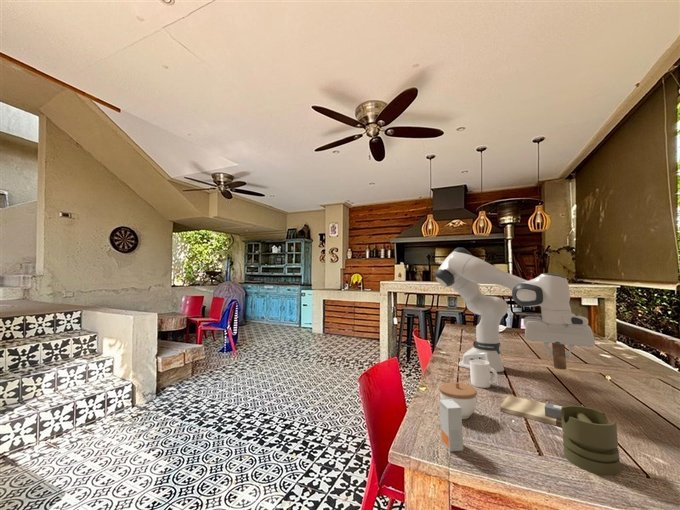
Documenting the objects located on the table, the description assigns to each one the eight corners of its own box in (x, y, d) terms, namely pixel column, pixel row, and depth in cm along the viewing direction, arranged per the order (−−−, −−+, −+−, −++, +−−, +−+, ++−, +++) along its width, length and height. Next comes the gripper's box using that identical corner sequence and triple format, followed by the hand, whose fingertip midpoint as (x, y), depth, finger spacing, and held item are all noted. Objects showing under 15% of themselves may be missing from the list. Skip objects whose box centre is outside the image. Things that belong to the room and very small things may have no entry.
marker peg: (553, 368, 103) (551, 341, 104) (554, 365, 106) (552, 339, 107) (566, 370, 101) (564, 342, 102) (567, 367, 103) (564, 340, 104)
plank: (500, 411, 105) (500, 406, 105) (508, 398, 116) (508, 395, 116) (586, 433, 90) (585, 428, 90) (586, 416, 100) (585, 412, 100)
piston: (603, 408, 81) (625, 428, 70) (606, 453, 80) (630, 480, 69) (554, 403, 85) (569, 421, 74) (557, 445, 84) (573, 470, 73)
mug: (502, 387, 128) (501, 364, 128) (494, 392, 123) (492, 367, 123) (476, 380, 137) (475, 358, 138) (467, 384, 132) (466, 361, 133)
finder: (545, 415, 98) (544, 405, 99) (546, 411, 101) (546, 402, 102) (567, 421, 94) (566, 411, 95) (568, 417, 97) (567, 406, 98)
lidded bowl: (461, 426, 95) (459, 392, 96) (432, 411, 106) (431, 380, 107) (485, 417, 101) (484, 385, 102) (456, 404, 112) (455, 374, 113)
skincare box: (440, 440, 87) (438, 399, 88) (453, 439, 88) (452, 398, 89) (449, 452, 81) (447, 408, 82) (464, 451, 82) (462, 407, 82)
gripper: (521, 316, 109) (524, 353, 108) (593, 320, 96) (596, 363, 95) (524, 314, 114) (526, 350, 113) (592, 318, 101) (596, 359, 100)
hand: (559, 356), depth 104 cm, fingers closed on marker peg, 4 cm apart
